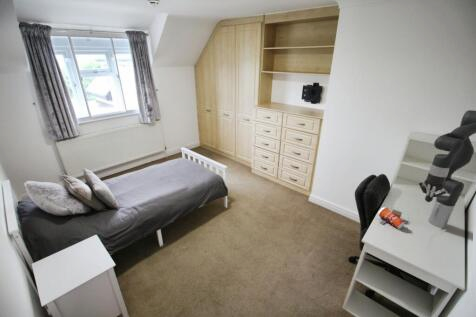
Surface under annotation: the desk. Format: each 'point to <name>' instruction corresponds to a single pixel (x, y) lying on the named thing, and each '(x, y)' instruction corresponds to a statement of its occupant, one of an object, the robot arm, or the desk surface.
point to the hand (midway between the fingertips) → (427, 201)
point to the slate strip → (383, 222)
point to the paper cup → (390, 217)
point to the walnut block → (397, 213)
